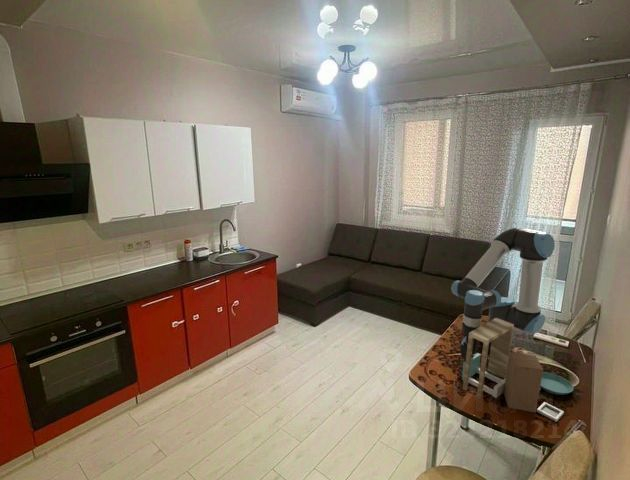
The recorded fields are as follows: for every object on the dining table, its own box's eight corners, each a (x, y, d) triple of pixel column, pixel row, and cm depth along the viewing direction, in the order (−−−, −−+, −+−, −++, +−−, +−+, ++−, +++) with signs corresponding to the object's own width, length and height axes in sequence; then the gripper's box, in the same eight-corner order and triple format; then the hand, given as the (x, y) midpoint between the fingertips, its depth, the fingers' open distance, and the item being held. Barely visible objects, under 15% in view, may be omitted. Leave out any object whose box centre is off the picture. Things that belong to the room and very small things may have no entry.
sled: (475, 369, 164) (477, 353, 162) (509, 387, 152) (512, 369, 150) (461, 379, 157) (463, 361, 155) (496, 398, 145) (498, 379, 143)
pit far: (543, 404, 142) (544, 401, 141) (563, 414, 136) (564, 411, 136) (536, 411, 138) (537, 409, 137) (556, 422, 132) (557, 419, 132)
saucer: (568, 381, 156) (569, 376, 156) (576, 402, 143) (577, 396, 143) (530, 373, 162) (531, 368, 161) (535, 392, 149) (536, 387, 148)
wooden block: (536, 413, 137) (543, 369, 132) (508, 408, 140) (514, 365, 135) (529, 397, 146) (536, 355, 141) (503, 392, 149) (509, 351, 144)
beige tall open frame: (489, 369, 165) (496, 317, 158) (506, 378, 158) (514, 324, 152) (462, 388, 151) (468, 332, 145) (480, 398, 145) (487, 340, 138)
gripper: (471, 316, 162) (466, 360, 168) (455, 324, 155) (451, 370, 161) (487, 322, 157) (481, 368, 162) (471, 331, 149) (466, 378, 155)
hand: (466, 369), depth 162 cm, fingers closed
